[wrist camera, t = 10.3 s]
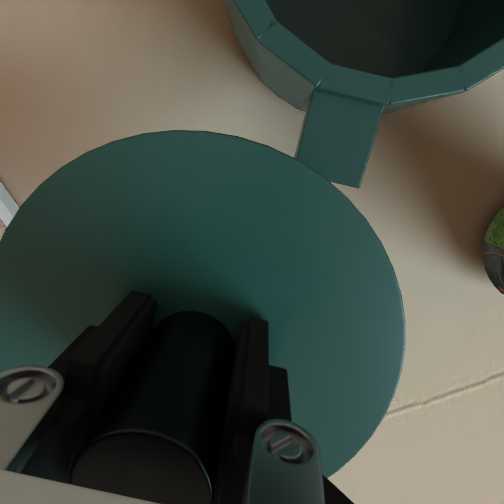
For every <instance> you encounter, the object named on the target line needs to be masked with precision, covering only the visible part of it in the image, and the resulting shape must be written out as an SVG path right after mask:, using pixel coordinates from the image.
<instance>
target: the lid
mask: <svg viewBox="0 0 504 504" xmlns="http://www.w3.org/2000/svg"><path fill="white" fill-rule="evenodd" d="M132 290H134V291H138V292H143V293H147V294H151V299H152V300H156V310H155V315H154V321H153V327H152V332H151V335H150V336H149V338H148V340H147V341H146V343H145V344H144V346H143V348H142V349H141V351H140V353H139V354H138V356H137V358H136V359H135V361H134V362H133V364H132V366H131V367H130V369H129V371H128V372H127V374H126V375H125V377H124V379H123V380H122V382H121V384H120V385H119V387H118V388H117V390H116V392H115V393H114V395H113V397H112V398H111V400H110V402H109V403H108V405H107V406H106V408H105V410H104V411H103V413H102V415H101V416H100V418H99V419H98V421H97V423H96V424H95V426H94V428H93V429H92V431H91V433H90V434H89V436H88V437H87V439H86V441H85V442H84V444H83V446H82V447H81V449H80V450H79V452H78V454H77V455H76V457H75V459H74V461H73V463H72V466H71V470H70V475H69V484H71V485H76V486H80V487H85V488H90V489H94V490H99V491H104V492H108V493H113V494H118V495H122V496H127V497H132V498H136V499H141V500H146V501H150V502H155V503H160V504H213V500H214V494H215V487H216V480H217V474H218V467H219V460H220V454H221V440H222V434H223V427H224V421H225V414H226V408H227V401H228V395H229V388H230V382H231V376H232V369H233V363H234V356H235V350H236V346H237V342H238V338H239V334H240V330H241V326H242V322H243V320H244V321H250V318H251V317H253V318H257V319H261V320H266V321H268V322H269V365H272V366H276V367H281V368H285V369H287V373H288V384H289V396H290V407H291V418H292V422H294V423H296V424H298V425H300V426H301V427H303V428H305V429H306V430H307V431H308V432H309V433H310V434H311V435H313V437H314V438H315V440H316V441H317V443H318V445H319V449H320V455H321V466H322V474H323V475H324V476H325V477H326V478H328V477H330V476H331V475H333V474H334V473H335V472H337V471H338V470H339V469H340V468H342V467H343V466H344V465H345V464H346V463H347V462H348V461H349V460H350V459H352V458H353V457H354V456H355V455H356V454H357V453H358V452H359V450H360V449H361V448H362V447H363V446H364V445H365V443H366V442H367V441H368V440H369V439H370V438H371V436H372V435H373V433H374V432H375V430H376V428H377V427H378V425H379V424H380V422H381V421H382V419H383V418H384V416H385V414H386V411H387V409H388V407H389V405H390V403H391V401H392V399H393V396H394V394H395V391H396V387H397V384H398V381H399V377H400V374H401V370H402V363H403V357H404V350H405V316H404V309H403V302H402V296H401V292H400V288H399V285H398V282H397V278H396V275H395V272H394V268H393V266H392V264H391V262H390V260H389V258H388V255H387V253H386V251H385V249H384V247H383V245H382V243H381V241H380V240H379V238H378V237H377V235H376V234H375V232H374V230H373V229H372V227H371V226H370V224H369V223H368V221H367V220H366V218H365V217H364V216H363V215H362V214H361V213H360V212H359V210H358V209H357V208H356V207H355V206H354V205H353V204H352V202H351V201H350V200H349V199H348V198H347V197H346V196H345V195H344V194H343V193H342V192H341V191H339V190H338V189H337V188H336V187H335V186H334V185H332V184H331V183H330V182H329V181H328V180H327V179H325V178H324V177H323V176H322V175H320V174H319V173H317V172H316V171H314V170H312V169H311V168H309V167H308V166H306V165H305V164H303V163H302V162H300V161H299V160H297V159H295V158H293V157H291V156H289V155H286V154H284V153H282V152H280V151H278V150H276V149H274V148H271V147H269V146H267V145H264V144H260V143H257V142H254V141H251V140H248V139H244V138H241V137H238V136H232V135H226V134H221V133H215V132H209V131H188V130H171V131H161V132H152V133H143V134H139V135H135V136H131V137H127V138H123V139H120V140H116V141H112V142H110V143H108V144H105V145H103V146H100V147H98V148H96V149H93V150H91V151H88V152H86V153H84V154H83V155H81V156H79V157H78V158H76V159H74V160H73V161H71V162H69V163H68V164H66V165H64V166H63V167H61V168H60V169H58V170H57V171H56V172H55V173H54V174H52V175H51V176H50V177H49V178H48V179H46V180H45V181H44V182H43V183H42V184H40V185H39V186H38V187H37V188H36V190H35V191H34V192H33V193H32V194H31V195H30V196H29V197H28V198H27V200H26V201H25V202H24V203H23V204H22V205H21V206H20V208H19V209H18V211H17V213H16V214H15V216H14V217H13V219H12V220H11V222H10V223H9V225H8V226H7V228H6V230H5V232H4V234H3V236H2V239H1V241H0V373H1V372H3V371H6V370H8V369H11V368H15V367H19V366H28V365H37V366H45V367H48V366H49V365H50V364H51V363H52V362H53V361H54V360H55V359H56V358H57V357H58V356H59V355H60V354H61V353H62V352H63V351H64V350H65V349H66V348H67V347H68V346H69V345H70V344H71V343H72V342H73V341H74V340H75V339H76V338H77V337H78V336H79V335H80V334H81V333H82V332H83V331H84V330H85V329H86V328H87V327H88V326H89V325H94V326H99V325H100V324H101V323H102V322H103V321H104V320H105V319H106V318H107V316H108V315H109V314H110V313H111V312H112V311H113V310H114V309H115V308H116V307H117V306H118V305H119V304H120V302H121V301H122V300H123V299H124V298H125V297H126V296H127V295H128V294H129V293H130V292H131V291H132Z"/></svg>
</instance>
